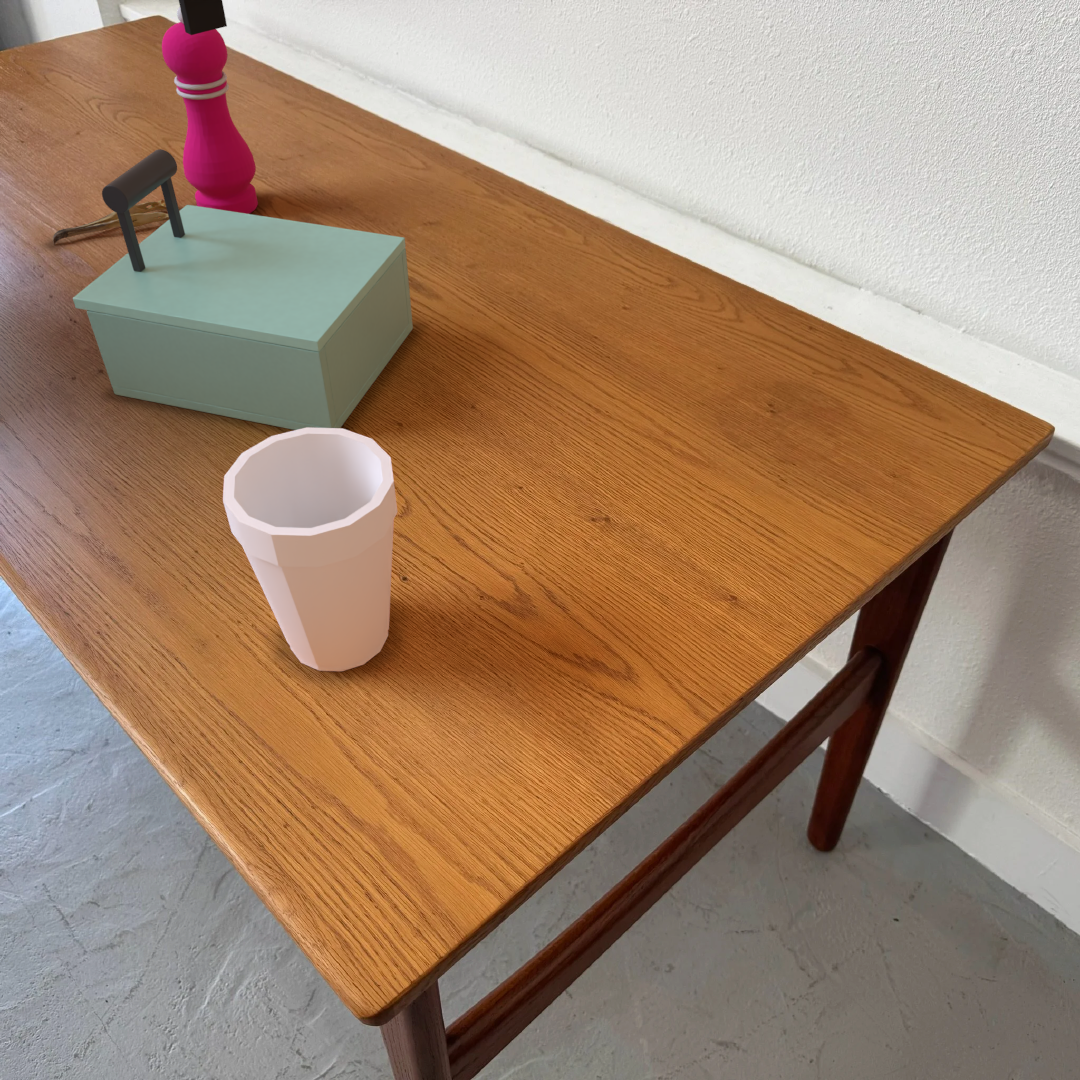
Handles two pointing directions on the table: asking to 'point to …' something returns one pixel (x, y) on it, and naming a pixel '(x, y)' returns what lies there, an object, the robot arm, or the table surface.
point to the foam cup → (319, 539)
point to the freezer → (260, 362)
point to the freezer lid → (234, 268)
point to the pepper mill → (209, 121)
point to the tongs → (113, 220)
